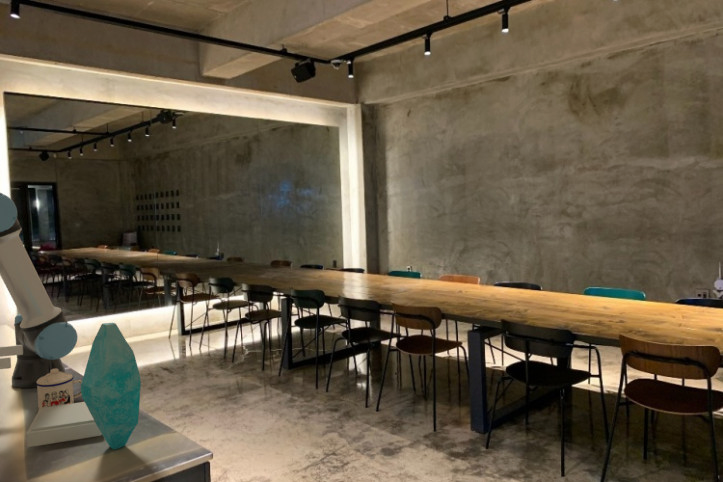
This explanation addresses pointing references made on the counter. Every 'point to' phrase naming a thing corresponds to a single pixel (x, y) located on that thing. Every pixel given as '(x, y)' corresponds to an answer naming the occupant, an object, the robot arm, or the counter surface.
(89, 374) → the crystal
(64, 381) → the teacup with lid
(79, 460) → the counter surface
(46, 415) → the plinth
